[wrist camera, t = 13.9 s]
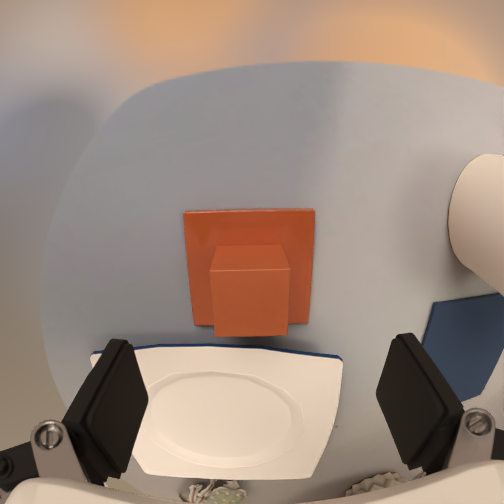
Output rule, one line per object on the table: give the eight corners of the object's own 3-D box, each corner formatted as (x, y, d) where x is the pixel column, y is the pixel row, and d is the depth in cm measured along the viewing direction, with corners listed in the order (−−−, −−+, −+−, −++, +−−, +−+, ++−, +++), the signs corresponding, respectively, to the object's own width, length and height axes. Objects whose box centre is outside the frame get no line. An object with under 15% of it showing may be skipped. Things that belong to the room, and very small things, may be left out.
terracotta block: (216, 245, 18) (209, 270, 15) (281, 244, 18) (290, 268, 15) (220, 302, 20) (214, 337, 16) (280, 301, 20) (287, 335, 16)
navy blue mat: (433, 302, 21) (435, 304, 21) (523, 288, 21) (525, 289, 21) (391, 420, 26) (392, 422, 25) (479, 392, 26) (480, 394, 26)
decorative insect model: (156, 480, 28) (159, 511, 24) (232, 463, 29) (241, 496, 25) (186, 496, 32) (192, 523, 28) (253, 481, 33) (262, 508, 29)
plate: (144, 459, 28) (140, 475, 25) (89, 324, 21) (74, 342, 18) (314, 462, 28) (317, 480, 25) (347, 326, 21) (358, 346, 19)
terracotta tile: (184, 210, 18) (182, 212, 18) (313, 208, 18) (315, 210, 18) (195, 321, 21) (194, 325, 20) (306, 319, 21) (308, 323, 20)
